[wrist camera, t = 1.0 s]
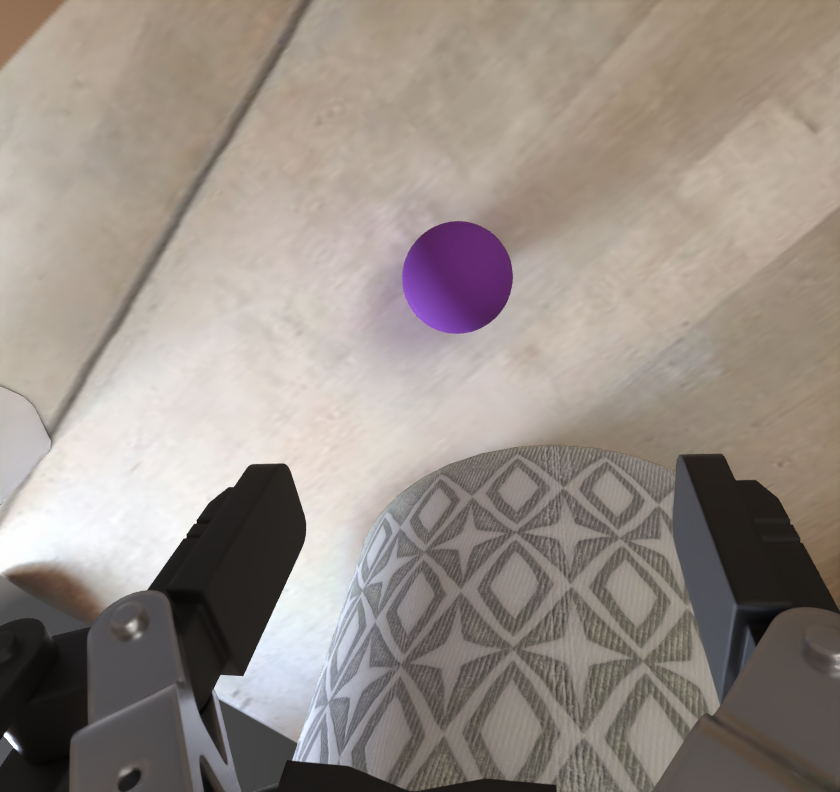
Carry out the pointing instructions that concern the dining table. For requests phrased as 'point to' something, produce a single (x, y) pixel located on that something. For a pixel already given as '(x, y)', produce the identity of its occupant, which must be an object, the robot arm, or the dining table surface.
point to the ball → (457, 277)
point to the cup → (19, 441)
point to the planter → (517, 630)
